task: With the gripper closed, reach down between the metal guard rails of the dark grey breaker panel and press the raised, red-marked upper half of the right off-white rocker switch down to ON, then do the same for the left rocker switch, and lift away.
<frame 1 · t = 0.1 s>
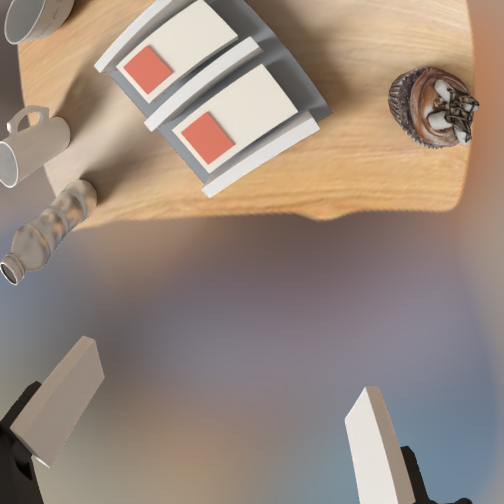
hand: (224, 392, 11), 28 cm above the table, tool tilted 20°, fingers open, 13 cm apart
mug: (59, 124, 30), on the table
teacup: (64, 0, 17), on the table
breaker a: (174, 49, 18), point 8 cm above the table, hinge at -10.0°
cupcake: (415, 101, 25), on the table
breaker panel: (221, 79, 26), on the table
breaker b: (234, 117, 22), point 8 cm above the table, hinge at -10.0°
plastic bottle: (87, 192, 38), on the table
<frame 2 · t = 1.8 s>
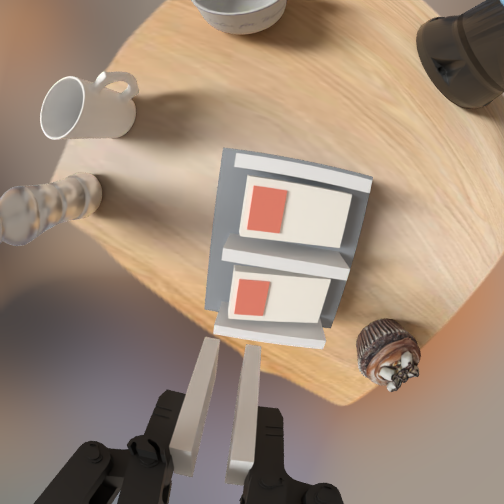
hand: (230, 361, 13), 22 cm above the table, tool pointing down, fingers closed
mug: (126, 109, 30), on the table
teacup: (256, 10, 24), on the table
breaker a: (296, 212, 25), point 8 cm above the table, hinge at -10.0°
cupcake: (378, 337, 39), on the table
breaker panel: (282, 234, 34), on the table
breaker b: (278, 296, 28), point 8 cm above the table, hinge at -10.0°
plastic bottle: (90, 192, 34), on the table
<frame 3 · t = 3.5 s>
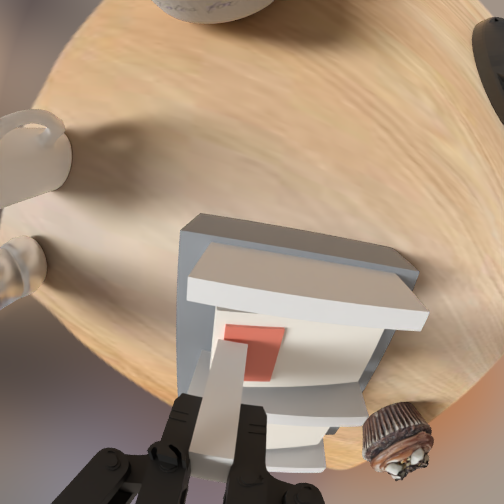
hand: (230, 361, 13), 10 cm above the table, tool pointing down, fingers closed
mug: (62, 149, 20), on the table
breaker a: (299, 348, 15), point 8 cm above the table, hinge at -10.0°, touching gripper
cupcake: (388, 418, 29), on the table
breaker panel: (278, 330, 24), on the table
breaker b: (269, 428, 18), point 8 cm above the table, hinge at -10.0°
plastic bottle: (36, 256, 24), on the table
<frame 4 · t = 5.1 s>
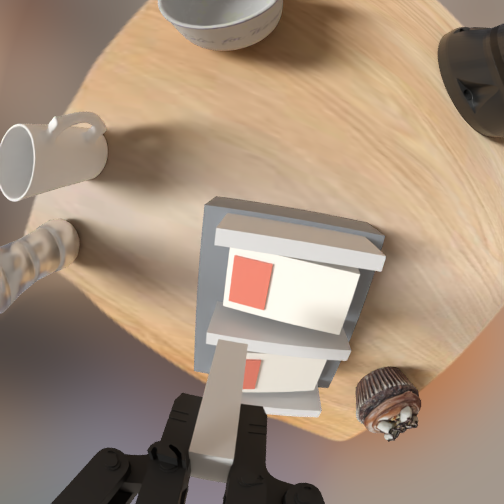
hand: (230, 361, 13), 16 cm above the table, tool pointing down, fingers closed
mug: (98, 146, 26), on the table
teacup: (245, 17, 20), on the table
breaker a: (288, 288, 21), point 8 cm above the table, hinge at 11.8°
cupcake: (378, 383, 35), on the table
breaker panel: (278, 292, 30), on the table
breaker b: (271, 369, 24), point 8 cm above the table, hinge at -10.0°
plastic bottle: (68, 238, 30), on the table
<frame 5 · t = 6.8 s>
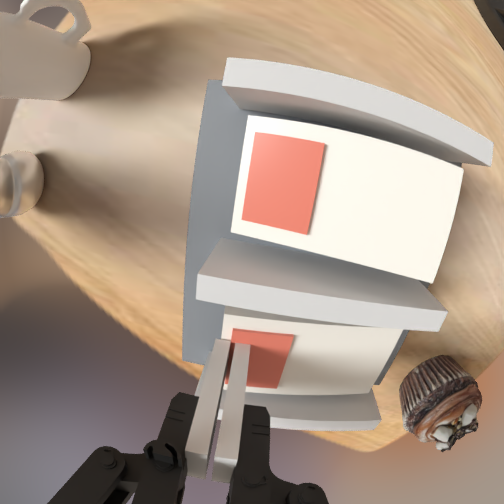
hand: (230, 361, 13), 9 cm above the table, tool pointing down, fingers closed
mug: (80, 60, 16), on the table
breaker a: (349, 196, 11), point 8 cm above the table, hinge at 12.5°
cupcake: (426, 378, 25), on the table
breaker panel: (311, 240, 20), on the table
breaker b: (308, 356, 14), point 8 cm above the table, hinge at -5.3°, touching gripper
plastic bottle: (34, 179, 20), on the table
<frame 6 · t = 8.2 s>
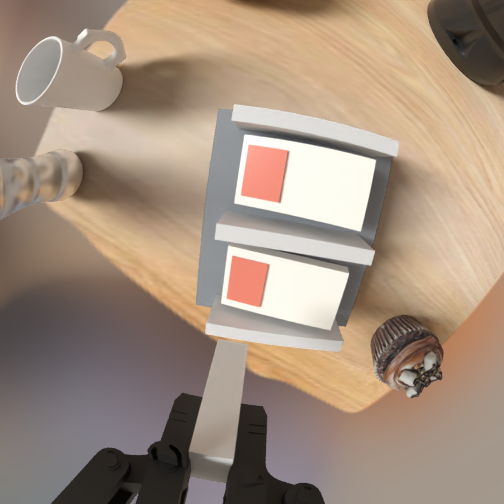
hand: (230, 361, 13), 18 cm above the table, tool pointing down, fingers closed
mug: (113, 80, 24), on the table
breaker a: (304, 180, 20), point 8 cm above the table, hinge at 12.5°
cupcake: (394, 337, 34), on the table
breaker panel: (288, 216, 29), on the table
breaker b: (282, 286, 23), point 8 cm above the table, hinge at 10.7°
plastic bottle: (71, 172, 28), on the table
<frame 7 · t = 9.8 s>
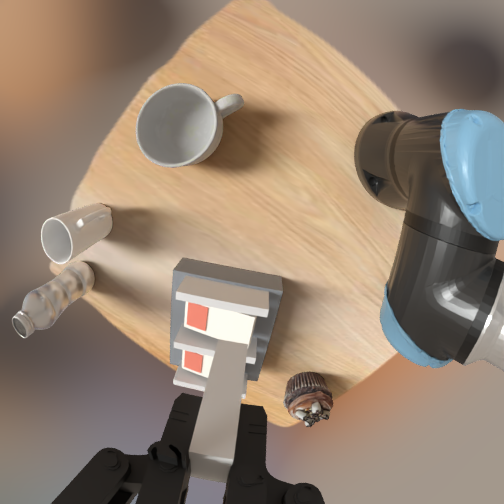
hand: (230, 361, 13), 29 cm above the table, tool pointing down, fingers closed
mug: (105, 215, 41), on the table
teacup: (201, 127, 36), on the table
breaker a: (218, 320, 37), point 8 cm above the table, hinge at 12.5°
cupcake: (305, 383, 51), on the table
breaker panel: (223, 316, 46), on the table
breaker b: (212, 364, 40), point 8 cm above the table, hinge at 11.4°
plastic bottle: (85, 272, 45), on the table
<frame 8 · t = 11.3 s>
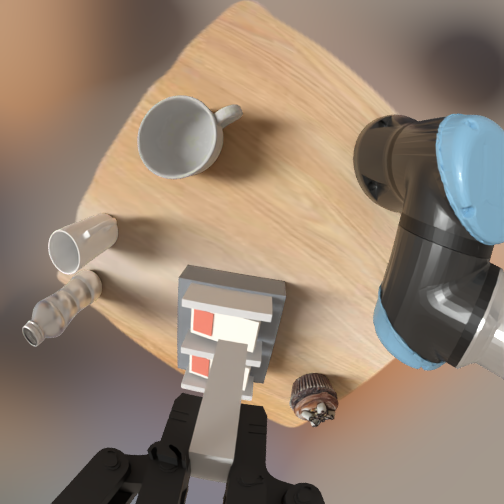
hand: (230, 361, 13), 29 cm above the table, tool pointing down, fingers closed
mug: (110, 225, 43), on the table
teacup: (202, 137, 37), on the table
breaker a: (223, 325, 38), point 8 cm above the table, hinge at 12.5°
cupcake: (310, 384, 52), on the table
breaker panel: (228, 321, 47), on the table
breaker b: (218, 368, 41), point 8 cm above the table, hinge at 11.4°
plastic bottle: (93, 280, 47), on the table
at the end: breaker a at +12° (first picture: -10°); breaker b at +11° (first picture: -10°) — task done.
